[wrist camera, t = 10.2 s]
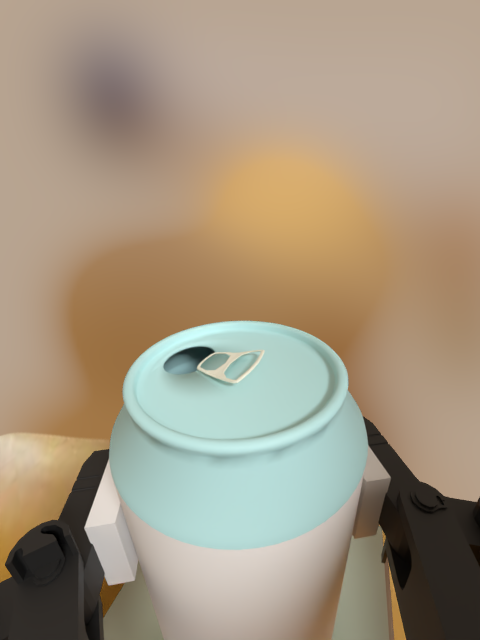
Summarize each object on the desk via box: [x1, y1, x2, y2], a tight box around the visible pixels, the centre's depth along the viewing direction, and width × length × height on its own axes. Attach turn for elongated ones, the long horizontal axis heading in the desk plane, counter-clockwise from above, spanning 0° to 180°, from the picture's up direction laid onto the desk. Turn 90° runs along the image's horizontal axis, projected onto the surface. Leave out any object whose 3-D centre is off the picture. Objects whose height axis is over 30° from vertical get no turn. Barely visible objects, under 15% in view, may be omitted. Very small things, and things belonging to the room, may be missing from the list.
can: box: [109, 321, 368, 640], centre depth 10 cm, size 7×7×12 cm
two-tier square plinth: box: [103, 526, 394, 640], centre depth 14 cm, size 14×14×6 cm
